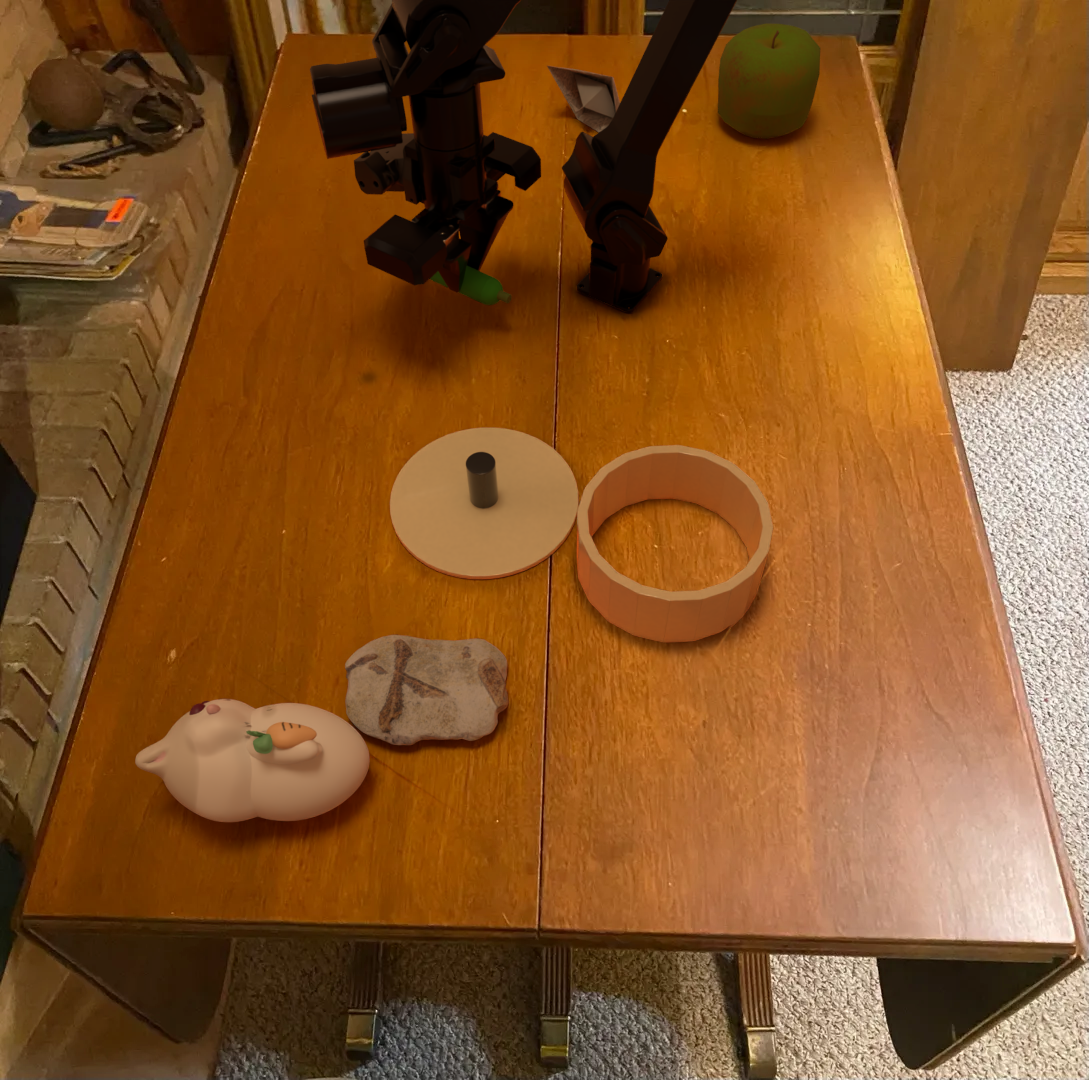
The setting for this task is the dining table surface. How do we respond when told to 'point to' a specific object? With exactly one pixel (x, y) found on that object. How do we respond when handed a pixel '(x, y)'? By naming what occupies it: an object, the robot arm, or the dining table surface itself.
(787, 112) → the apple
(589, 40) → the dining table surface
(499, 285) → the green zucchini
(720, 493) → the pot
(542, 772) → the dining table surface
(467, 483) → the pot lid
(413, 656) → the stone
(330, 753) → the bunny figurine
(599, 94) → the paper boat
